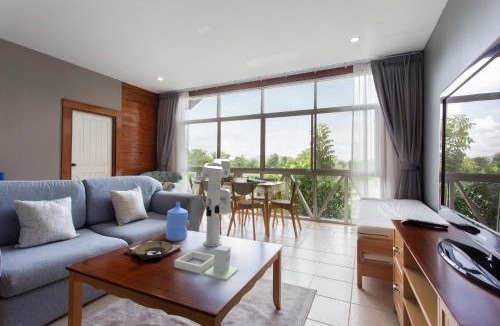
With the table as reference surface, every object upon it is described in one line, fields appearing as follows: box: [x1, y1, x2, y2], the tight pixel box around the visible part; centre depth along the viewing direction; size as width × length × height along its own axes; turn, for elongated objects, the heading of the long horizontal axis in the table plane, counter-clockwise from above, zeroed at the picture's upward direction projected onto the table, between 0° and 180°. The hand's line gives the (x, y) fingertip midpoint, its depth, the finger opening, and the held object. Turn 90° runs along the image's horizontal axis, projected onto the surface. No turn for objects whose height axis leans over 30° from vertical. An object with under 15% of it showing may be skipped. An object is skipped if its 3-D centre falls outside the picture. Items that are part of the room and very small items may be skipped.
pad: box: [203, 265, 239, 281], centre depth 140 cm, size 14×14×1 cm
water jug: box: [165, 201, 189, 242], centre depth 195 cm, size 16×16×28 cm
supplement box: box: [212, 245, 232, 274], centre depth 140 cm, size 7×7×13 cm
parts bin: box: [173, 250, 214, 274], centre depth 149 cm, size 17×17×4 cm
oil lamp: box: [133, 240, 173, 261], centre depth 158 cm, size 22×30×8 cm
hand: (212, 214), depth 156 cm, fingers open, 9 cm apart
